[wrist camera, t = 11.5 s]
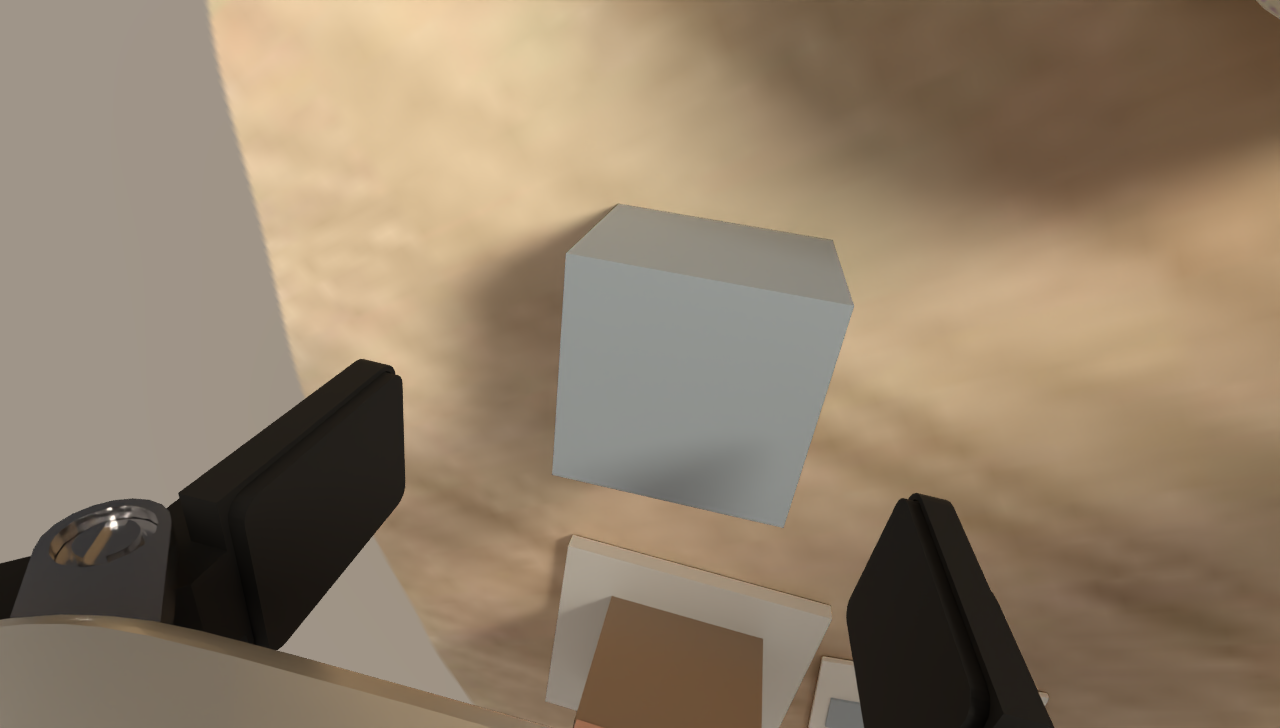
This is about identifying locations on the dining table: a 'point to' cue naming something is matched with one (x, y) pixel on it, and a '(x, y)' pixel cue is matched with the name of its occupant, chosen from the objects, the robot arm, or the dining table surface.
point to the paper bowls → (1271, 6)
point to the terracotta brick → (585, 725)
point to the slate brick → (696, 359)
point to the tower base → (680, 597)
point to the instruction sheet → (841, 696)
